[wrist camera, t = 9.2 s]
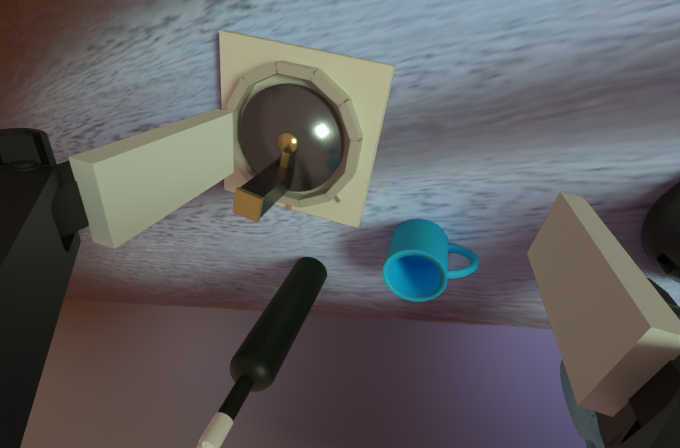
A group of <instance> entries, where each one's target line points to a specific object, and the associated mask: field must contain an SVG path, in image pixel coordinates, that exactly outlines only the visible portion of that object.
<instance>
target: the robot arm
mask: <svg viewBox="0 0 680 448" xmlns="http://www.w3.org/2000/svg"><path fill="white" fill-rule="evenodd" d="M68 158H69V161H66V162H63V163H60V164H56V161H55V158H54V155H53V152H52V148H51V145H50V142H49V139H48V136H47V133H45V132H43V131H41V130H37V129H29V128H9V129H2V130H0V448H20V446H21V442H22V439H23V436H24V432H25V429H26V425H27V422H28V418H29V415H30V412H31V408H32V405H33V401H34V398H35V395H36V392H37V388H38V385H39V381H40V378H41V374H42V371H43V368H44V364H45V361H46V358H47V354H48V351H49V347H50V344H51V341H52V337H53V334H54V330H55V327H56V324H57V320H58V317H59V313H60V310H61V307H62V303H63V300H64V297H65V293H66V290H67V287H68V283H69V280H70V276H71V273H72V270H73V266H74V263H75V259H76V256H77V253H78V249H79V246H80V237H79V233H78V231H79V230H81V229H83V228H85V227H87V226H89V229H90V233H91V236H92V239H93V242H94V243H97V244H100V245H103V246H106V247H109V248H112V249H116V248H117V247H119V246H120V245H122V244H123V243H125V242H126V241H128V240H130V239H131V238H133V237H134V236H136V235H137V234H139V233H140V232H142V231H144V230H145V229H147V228H148V227H150V226H151V225H153V224H154V223H156V222H158V221H159V220H161V219H162V218H164V217H165V216H167V215H168V214H170V213H172V212H173V211H175V210H176V209H178V208H179V207H181V206H182V205H184V204H186V203H187V202H189V201H190V200H192V199H193V198H195V197H196V196H198V195H200V194H201V193H203V192H204V191H206V190H207V189H209V188H210V187H212V186H214V185H215V184H217V183H218V182H220V181H221V180H223V179H224V178H226V177H227V176H229V175H231V174H232V173H234V160H233V113H232V112H228V111H224V110H220V109H214V110H211V111H208V112H205V113H202V114H199V115H196V116H193V117H190V118H186V119H183V120H180V121H177V122H174V123H171V124H168V125H165V126H162V127H159V128H156V129H153V130H150V131H147V132H144V133H141V134H138V135H134V136H131V137H128V138H125V139H122V140H119V141H116V142H113V143H110V144H107V145H104V146H101V147H98V148H95V149H92V150H89V151H86V152H83V153H79V154H76V155H73V156H70V157H68ZM642 243H643V247H644V250H645V252H646V254H647V255H648V257H649V258H650V259H651V260H652V261H653V263H654V264H655V265H656V266H657V267H658V268H659V269H660V270H661V271H662V272H663V273H664V274H665V275H667V276H668V277H670V278H671V279H673V280H674V281H676V282H678V283H680V183H679V184H677V185H676V186H674V187H673V188H672V189H670V190H669V191H668V192H667V193H665V194H664V195H663V196H662V197H661V198H660V199H659V200H658V201H657V202H656V204H655V205H654V206H653V207H652V209H651V210H650V212H649V213H648V215H647V217H646V219H645V222H644V225H643V229H642ZM527 255H528V258H529V261H530V264H531V267H532V270H533V273H534V276H535V279H536V282H537V285H538V288H539V291H540V294H541V297H542V300H543V303H544V306H545V309H546V312H547V315H548V318H549V321H550V324H551V327H552V330H553V333H554V336H555V338H556V342H557V345H558V348H559V351H560V353H561V357H562V361H561V365H560V377H561V384H562V389H563V393H564V397H565V400H566V403H567V407H568V410H569V412H570V415H571V418H572V420H573V422H574V425H575V427H576V429H577V431H578V434H579V435H580V437H581V438H582V439H584V440H585V443H586V446H587V448H680V307H679V306H678V305H677V304H676V303H675V301H674V300H673V299H672V298H671V296H670V295H669V294H668V293H667V292H666V291H665V290H663V289H662V288H661V287H660V286H658V285H657V284H656V283H655V282H653V281H652V280H651V279H649V278H646V276H645V275H644V274H643V273H642V271H641V270H640V269H639V267H638V266H637V265H636V264H635V262H634V261H633V260H632V259H631V257H630V256H629V255H628V253H627V252H626V251H625V250H624V248H623V247H622V246H621V245H620V243H619V242H618V241H617V239H616V238H615V237H614V236H613V234H612V233H611V232H610V231H609V229H608V228H607V227H606V225H605V224H604V223H603V222H602V220H601V219H600V218H599V216H598V215H597V214H596V213H595V211H594V210H593V209H592V208H591V206H590V205H589V204H588V202H587V201H586V200H585V199H584V197H580V196H576V195H572V194H568V193H564V192H560V194H559V196H558V197H557V199H556V201H555V203H554V205H553V206H552V208H551V210H550V212H549V214H548V215H547V217H546V219H545V221H544V223H543V224H542V226H541V228H540V230H539V232H538V233H537V235H536V237H535V239H534V241H533V242H532V244H531V246H530V248H529V250H528V251H527Z"/></svg>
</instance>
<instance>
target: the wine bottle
mask: <svg viewBox="0 0 680 448" xmlns="http://www.w3.org/2000/svg"><path fill="white" fill-rule="evenodd" d="M326 277H327V271H326V269H325V267H324V265H323V264H322V263H321V262H320V261H318V260H316V259H314V258H311V257H304V258H301V259H299V260H298V261H297V263H296V264H295V266H294V267H293V269H292V270H291V272H290V273H289V275H288V276H287V278H286V279H285V281H284V282H283V284H282V285H281V287H280V288H279V290H278V291H277V292H276V294H275V295H274V297H273V298H272V300H271V301H270V303H269V304H268V306H267V307H266V309H265V310H264V312H263V313H262V315H261V316H260V318H259V319H258V321H257V322H256V324H255V326H254V327H253V328H252V330H251V331H250V333H249V334H248V336H247V337H246V339H245V340H244V342H243V343H242V345H241V346H240V348H239V349H238V351H237V352H236V353H235V355H234V356H233V358H232V360H231V363H230V373H231V376H232V378H233V380H234V381H235V385H234V386H233V388H232V390H231V391H230V393H229V395H228V396H227V398H226V399H225V401H224V403H223V404H222V406H221V407H220V409H219V411H218V412H217V413H216V414H215V415H214V417H213V419H212V420H211V422H210V424H209V425H208V427H207V428H206V430H205V432H204V433H203V435H202V437H201V438H200V440H199V441H198V443H199V445H198V447H197V448H220V446H221V444H222V443H223V441H224V439H225V437H226V435H227V433H228V432H229V430H230V428H231V426H232V425H233V421H234V419H235V417H236V416H237V414H238V412H239V410H240V408H241V407H242V405H243V403H244V401H245V399H246V398H247V396H248V394H249V392H250V391H251V392H259V391H263V390H265V389H267V388H268V387H269V386H270V385H271V384H272V383H273V381H274V380H275V378H276V376H277V373H278V372H279V370H280V367H281V366H282V364H283V362H284V360H285V358H286V356H287V354H288V352H289V350H290V348H291V346H292V344H293V342H294V340H295V338H296V336H297V334H298V333H299V331H300V328H301V327H302V325H303V323H304V321H305V319H306V317H307V315H308V313H309V311H310V309H311V307H312V305H313V303H314V301H315V299H316V297H317V295H318V293H319V291H320V289H321V287H322V285H323V284H324V282H325V280H326Z"/></svg>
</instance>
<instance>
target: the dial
mask: <svg viewBox="0 0 680 448" xmlns="http://www.w3.org/2000/svg"><path fill="white" fill-rule="evenodd" d="M240 132H241V141H242V145H243V149H244V151H245V154H246V156H247V158H248V160H249V162H250V163H251V165H252V166H253V168H254V169H255V170H256V171H257V173H258V174H257V175H256V176H255V177H253V178H252V179H250V180H249V181H248V182H246V183H245V184H244V185H242V186H241V187H237V188H236V189H235V197H234V205H233V212H234V213H236V214H239V215H241V216H243V217H246V218H248V219H250V220H253V221H255V222H258V221H259V220H260V218H261V217H262V216H263V215H264V214H265V213H266V212H267V211H268V210H269V209H270V208H271V207H272V206H273V205H274V204H275V203H276V202H277V201H278V200H279V199H280V198H281V197H282V196H283V195H284V194H285V193H286V192H287V191H292V192H305V191H310V190H313V189H315V188H317V187H319V186H321V185H322V184H324V183H325V182H326V181H327V180H328V179H329V178H330V177H331V176H332V175H333V173H334V172H335V171H336V169H337V168H338V166H339V164H340V162H341V159H342V155H343V151H344V135H343V130H342V126H341V123H340V121H339V118H338V116H337V114H336V112H335V111H334V109H333V108H332V106H331V105H330V104H329V103H328V102H327V100H326V99H325V98H324V97H322V96H321V95H320V94H319V93H317V92H316V91H314V90H313V89H311V88H308V87H306V86H303V85H300V84H295V83H281V84H276V85H273V86H270V87H267V88H265V89H263V90H261V91H259V92H258V93H257V94H255V95H254V96H253V97H252V98H251V99H250V101H249V102H248V104H247V105H246V107H245V109H244V112H243V115H242V119H241V127H240Z"/></svg>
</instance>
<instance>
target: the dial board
mask: <svg viewBox="0 0 680 448" xmlns="http://www.w3.org/2000/svg"><path fill="white" fill-rule="evenodd" d="M219 40H220V71H221V101H222V110H224V111H228V112H232V113H233V160H234V173H232V174H231V175H229V176H227V177H226V178H224V190H227V191H231V192H234V193H235V189H236V188H237V187H241V186H242V185H244V184H245V183H246V182H248V181H249V180H250V179H252V178H253V177H255V176H256V175H257V174H258V173H257V171H256V170H255V169H254V168H253V166H252V165H251V163H250V162H249V160H248V158H247V156H246V154H245V151H244V149H243V145H242V141H241V132H240V127H241V119H242V115H243V112H244V109H245V107H246V105H247V104H248V102H249V101H250V99H251V98H252V97H253V96H254V95H255V94H257V93H258V92H259V91H261V90H263V89H265V88H267V87H270V86H273V85H276V84H281V83H295V84H300V85H303V86H306V87H308V88H311V89H313V90H314V91H316V92H317V93H319V94H320V95H321V96H322V97H324V98H325V99H326V100H327V102H328V103H329V104H330V105H331V106H332V108H333V109H334V111H335V112H336V114H337V116H338V118H339V121H340V123H341V126H342V130H343V135H344V151H343V155H342V159H341V162H340V164H339V166H338V168H337V169H336V171H335V172H334V173H333V175H332V176H331V177H330V178H329V179H328V180H327V181H326V182H325V183H324V184H322V185H321V186H319V187H317V188H315V189H313V190H310V191H305V192H292V191H287V192H286V193H285V194H284V195H283V196H282V197H281V198H280V199H279V200H278V201H277V202H276V203H275V204H276V205H279V206H283V207H286V209H290V210H291V209H293V210H297V211H300V212H303V213H307V214H310V215H314V216H317V217H321V218H324V219H328V220H331V221H335V222H338V223H342V224H345V225H348V226H352V227H355V228H359V226H360V223H361V219H362V214H363V210H364V205H365V201H366V196H367V192H368V187H369V183H370V178H371V174H372V169H373V165H374V160H375V156H376V151H377V146H378V142H379V137H380V133H381V128H382V124H383V119H384V115H385V110H386V106H387V101H388V97H389V92H390V88H391V83H392V79H393V74H394V70H395V65H392V64H387V63H382V62H377V61H373V60H368V59H363V58H358V57H353V56H348V55H343V54H338V53H333V52H329V51H324V50H319V49H314V48H309V47H304V46H299V45H294V44H289V43H284V42H280V41H275V40H270V39H265V38H260V37H255V36H250V35H245V34H240V33H236V32H231V31H219Z"/></svg>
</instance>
